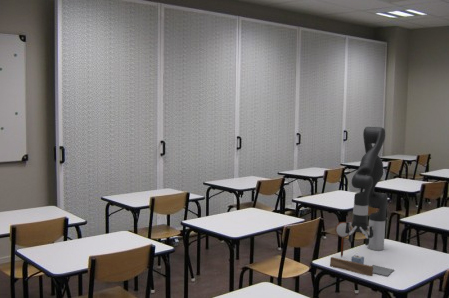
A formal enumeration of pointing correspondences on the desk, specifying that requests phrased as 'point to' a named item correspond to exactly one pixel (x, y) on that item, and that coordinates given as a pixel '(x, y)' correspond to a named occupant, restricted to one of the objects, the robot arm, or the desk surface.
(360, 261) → the letter cube
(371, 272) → the bar
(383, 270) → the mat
